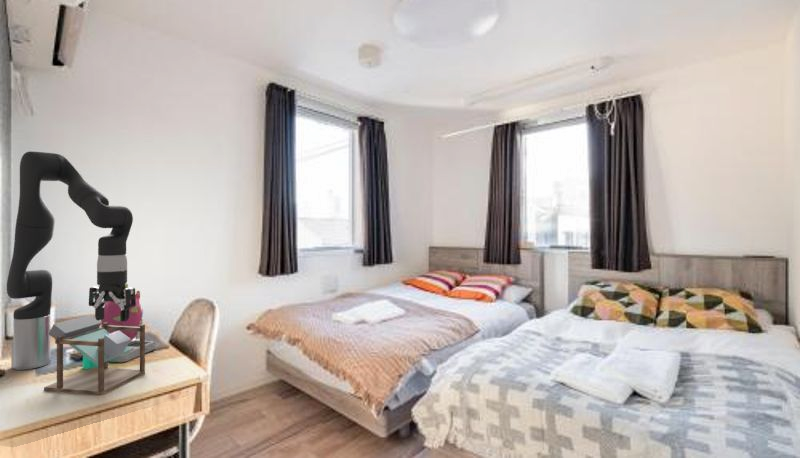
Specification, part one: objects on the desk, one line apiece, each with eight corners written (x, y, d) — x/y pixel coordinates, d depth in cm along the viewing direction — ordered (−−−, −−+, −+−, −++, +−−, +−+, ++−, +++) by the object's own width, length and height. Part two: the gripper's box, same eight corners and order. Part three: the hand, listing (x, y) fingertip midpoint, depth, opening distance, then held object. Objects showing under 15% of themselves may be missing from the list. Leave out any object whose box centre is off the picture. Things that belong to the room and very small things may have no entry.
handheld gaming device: (101, 362, 135) (101, 352, 135) (135, 348, 149) (135, 339, 149) (123, 364, 134) (123, 354, 134) (155, 350, 148) (155, 341, 148)
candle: (92, 369, 127) (92, 335, 127) (78, 368, 128) (78, 333, 128) (109, 363, 133) (109, 330, 133) (95, 361, 134) (95, 328, 134)
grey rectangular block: (96, 349, 115) (105, 335, 115) (111, 344, 120) (119, 330, 120) (109, 358, 115) (117, 344, 115) (123, 352, 120) (131, 339, 119)
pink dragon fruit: (140, 348, 148) (140, 273, 148) (96, 354, 142) (97, 275, 141) (144, 336, 164) (144, 268, 163) (105, 341, 157) (105, 270, 156)
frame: (44, 390, 112) (44, 335, 111) (94, 369, 127) (94, 321, 127) (101, 395, 109) (101, 339, 109) (145, 373, 125) (145, 324, 125)
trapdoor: (48, 333, 113) (53, 324, 113) (85, 323, 125) (90, 314, 125) (94, 368, 112) (100, 359, 111) (128, 354, 124) (133, 345, 123)
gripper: (80, 269, 114) (80, 322, 114) (122, 271, 112) (122, 324, 113) (103, 267, 122) (102, 316, 122) (142, 268, 120) (142, 318, 120)
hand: (112, 320), depth 117 cm, fingers open, 8 cm apart
